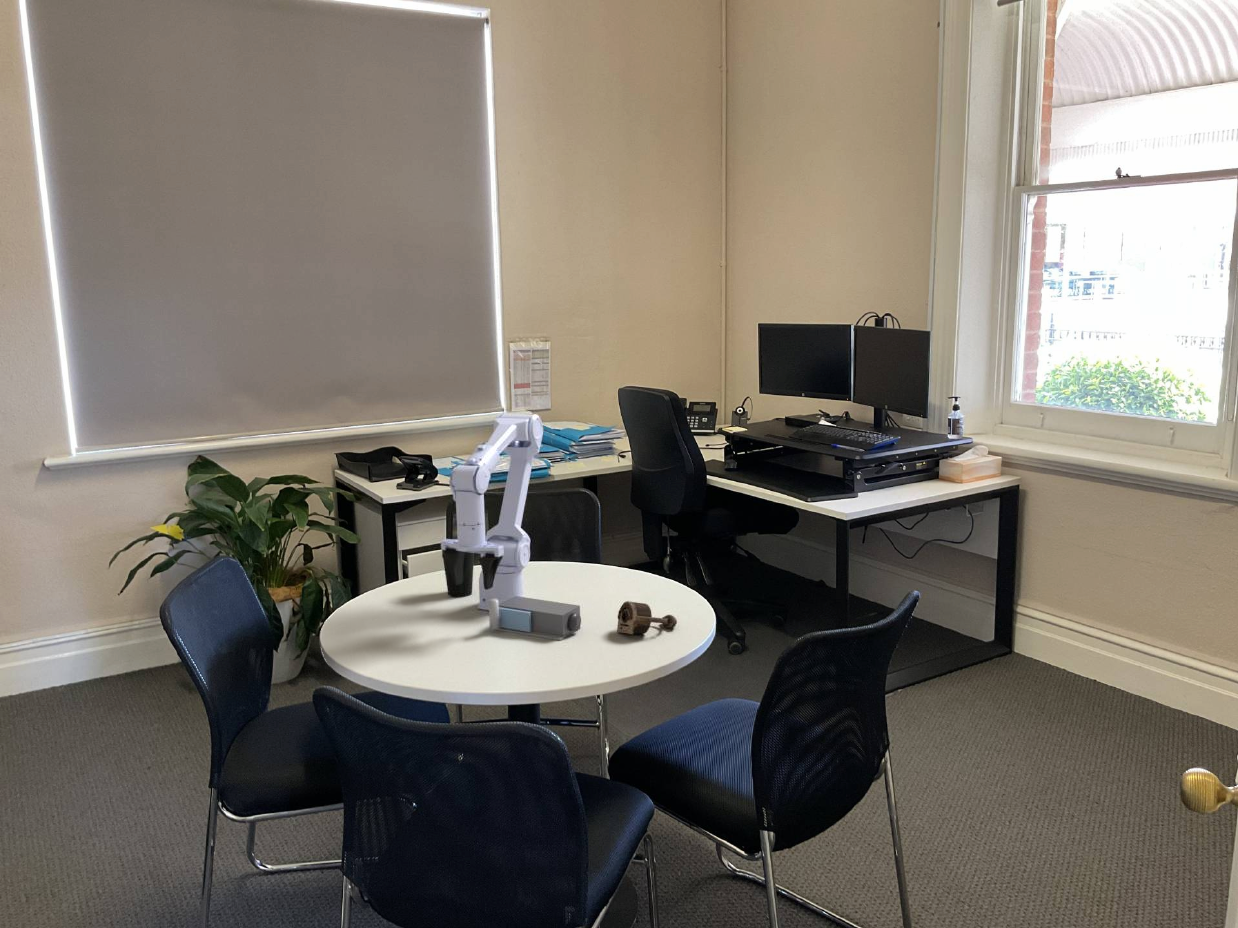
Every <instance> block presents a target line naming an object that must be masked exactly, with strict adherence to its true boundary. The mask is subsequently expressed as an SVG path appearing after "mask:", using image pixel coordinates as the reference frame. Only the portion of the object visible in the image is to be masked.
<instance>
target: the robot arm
mask: <svg viewBox="0 0 1238 928" xmlns="http://www.w3.org/2000/svg"><path fill="white" fill-rule="evenodd" d="M543 433H544V426H543V422H542V418H541V417H540V415H538V414H536V413H535V414H515V413H514V414H513V413H509V414H508V413H503V412H502V413H501V412H500V413H499V414H498V415H496V417H495V419H494V422H493V432H492V434H491V435H490V437H489V439H488V440H487V442H486V444H478V445H477V447H476V448H475V450H473V451H472V453H471V454H470V455H469V457H468V458H467V459H466V460H465V462H464V463H463V464H458V465H457V466H455V467H454V468H453V469H452V470H451V473H450V475H449V476H450V477H449V483H448V484H449V488H450V490H451V492H452V499H453V501H454V502H455V508H456V510H455V511H456V512H455V513H456V530H457V531H456V534H457V539H453V538H452V539H450V538H445V539H443V540H440V550H441V551H442V550H446V551H445V553H443V554H442V553H441V557H442V559H444V560H445V562H446V563H447V565H448V567H449V569H450V572H451V575H452V578H453V581H454V584H455V585H459V584H461V583H463V561H464V555H465V552H471V553H474V554H480V557H479V558H478V561H479V562H480V563H479V564H480V566H481V572H480V573H479V576H478V577H479V578H478V591H479V595H478V599H479V605H478V606H477V609H480V610H484V611H489V600H490V599H498V601H499V604H501V603H503V602H505V601H507V600H509V599H511V598H513V597H515V596H519V597H524V586H523V583H524V581H523V570H524V569H525V568H526V567H527V565H528V564H529V562H530V559H531V549H530V548H531V538H530V536H529V535H528V533H527V532H526V531H525V530H524V529H523V528H521V527H522V521H523V515H524V512H525V511H524V510H525V506H526V500H527V495H528V487H529V484H530V479H531V472H532V467H533V461H534V457H535V456H537V455H538V454H539V453H540V450H541V449H540V448H541V447H542V446H541V445H542V440H543V435H544V434H543ZM502 452H503V453H505V454H507V455H509V456H510V462H509V467H508V472H507V478H506V483H505V488H504V493H503V499H502V504H501V509H500V513H499V519H498V523H497V524H496V525H494V526H493V527H492V528H490V529H489V530H487V531H486V522H485V521H486V520H485V517H486V516H485V515H486V514H485V498H484V497H485V496H484V494H485V493H486V491H487V490H488V487H489V482H490V480H491V474H493V472H494V470H495V469H496V468H497V466H498V465H499V463H500V462H501V461H500V460H501V457H500V455H501V453H502Z"/></svg>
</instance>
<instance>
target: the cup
mask: <svg viewBox="0 0 1238 928" xmlns="http://www.w3.org/2000/svg"><path fill="white" fill-rule="evenodd" d="M445 551H446V550H441V552H442V553H441V555H442V554H443V553H445ZM442 559H443V558H442ZM474 559H475V553H471V552H465V555H464V561H463V583H461V584H459V585H455V584H454V581H453V578H452V575H451V572H450V569H449V567H448V565H447V563H446V562H445V560H444V559H443V560H442V561H443V568H444V574H445V580H446V581H445V582H446V589H447V594H448V596H449V597H451V598H466V597H469V596H471V595H472V594H473V585H474V584H473V581H474V564H475V563H474V562H475V560H474Z"/></svg>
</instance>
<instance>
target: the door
mask: <svg viewBox="0 0 1238 928" xmlns="http://www.w3.org/2000/svg"><path fill="white" fill-rule="evenodd" d="M488 613H489V614H488V615H489V616H488V618H489V629H490V630H494V631H495V629H499V627H502V628H508V629H514V630H520V631H526V632H531V612H527V611H521V610H514V609H508V608H501V607H499V601H498V599H490V600H489V610H488Z"/></svg>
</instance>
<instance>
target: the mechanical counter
mask: <svg viewBox="0 0 1238 928" xmlns="http://www.w3.org/2000/svg"><path fill="white" fill-rule="evenodd" d="M652 623H654V624H655V623H656V624H662V625H663V626H664V627H665V628H667V629H673V628H675V627H676V625H677V624H678V620H677V618H676V617H675V616H674V615H672V614H666V615H665V616H663V617H656V616H655V617H653V614H652V609H651V607H650V605H649V604H648V603H642V602H637V601H630V600H627V601H624V602H623V603H622V605H621V606H620V608H619V610H618V614H617V629H616V632H617V633H623V634H628V635H633V634H638V635H644V634H646V633H647V632H648V631H649V629H650V627H651V624H652Z"/></svg>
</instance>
